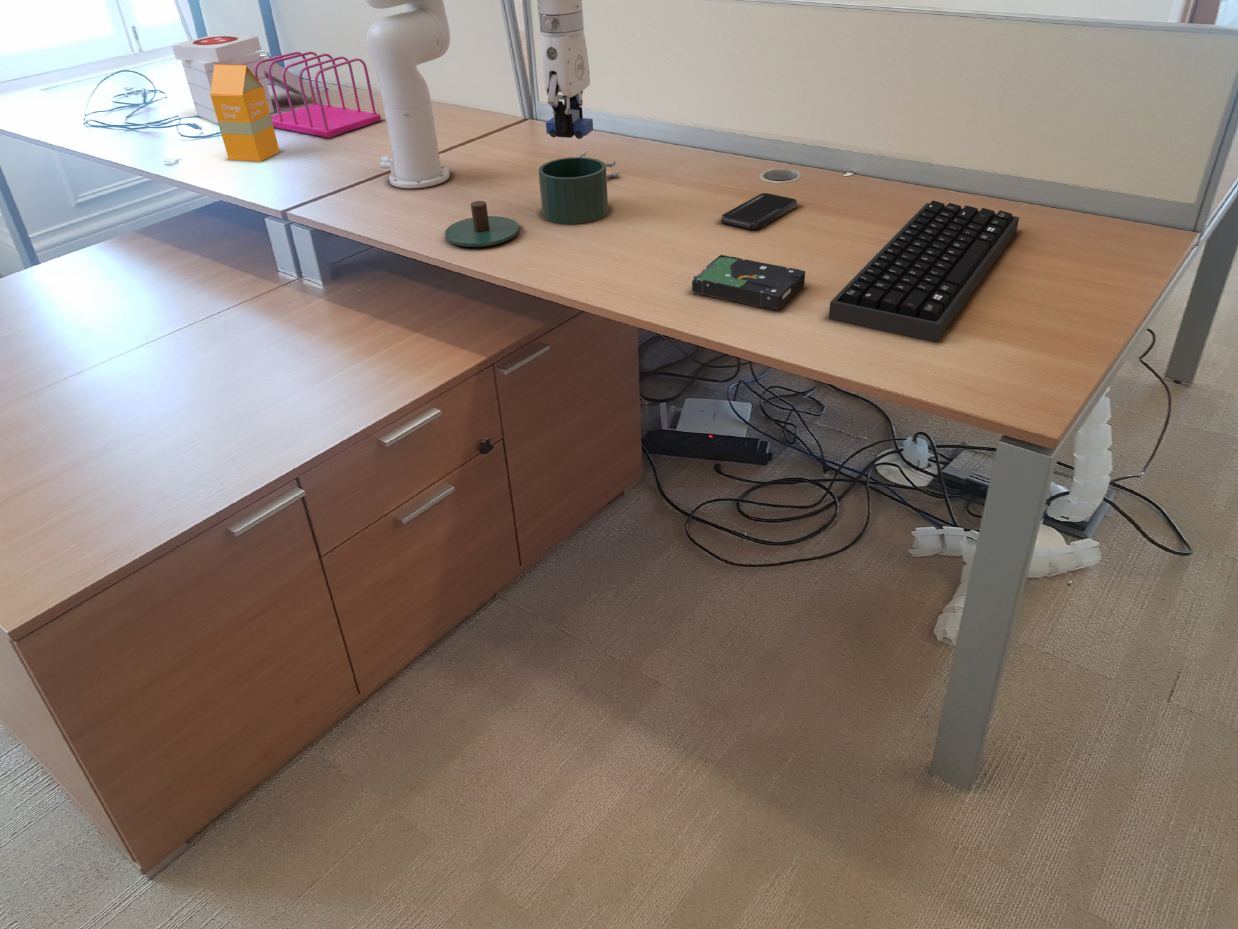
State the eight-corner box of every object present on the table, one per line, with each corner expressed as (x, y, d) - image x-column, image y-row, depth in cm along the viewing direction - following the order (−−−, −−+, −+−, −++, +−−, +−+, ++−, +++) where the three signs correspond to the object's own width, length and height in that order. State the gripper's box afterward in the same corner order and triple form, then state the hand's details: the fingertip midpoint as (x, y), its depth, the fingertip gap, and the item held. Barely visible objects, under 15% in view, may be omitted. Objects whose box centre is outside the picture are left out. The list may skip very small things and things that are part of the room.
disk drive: (805, 286, 147) (719, 269, 153) (806, 270, 145) (720, 252, 152) (778, 313, 140) (690, 293, 146) (780, 296, 138) (690, 276, 145)
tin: (532, 220, 175) (527, 175, 170) (558, 198, 185) (555, 155, 180) (593, 226, 171) (590, 180, 166) (617, 203, 181) (615, 159, 176)
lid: (432, 245, 167) (426, 213, 164) (467, 219, 177) (463, 188, 174) (499, 253, 163) (494, 220, 160) (531, 225, 173) (528, 193, 170)
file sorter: (328, 139, 226) (313, 70, 217) (263, 126, 238) (246, 60, 229) (382, 121, 237) (369, 54, 228) (316, 109, 249) (302, 46, 240)
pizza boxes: (321, 103, 255) (305, 31, 245) (216, 128, 239) (194, 52, 228) (288, 92, 267) (272, 23, 256) (185, 115, 251) (164, 43, 240)
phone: (719, 216, 169) (763, 192, 179) (719, 222, 170) (763, 197, 179) (756, 225, 165) (799, 199, 174) (756, 231, 166) (799, 205, 175)
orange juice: (259, 161, 213) (235, 68, 202) (227, 159, 216) (201, 67, 204) (280, 151, 219) (257, 60, 208) (249, 149, 222) (224, 59, 210)
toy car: (546, 137, 169) (544, 113, 167) (555, 131, 172) (553, 108, 170) (585, 139, 167) (583, 115, 165) (593, 133, 170) (592, 110, 167)
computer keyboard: (936, 342, 130) (941, 317, 128) (828, 318, 137) (830, 294, 135) (1016, 232, 161) (1020, 210, 158) (924, 217, 168) (927, 196, 166)
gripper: (561, 33, 151) (570, 148, 162) (600, 14, 164) (606, 121, 174) (520, 32, 154) (531, 145, 164) (560, 13, 166) (569, 119, 177)
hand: (569, 132), depth 169 cm, fingers closed on toy car, 3 cm apart
